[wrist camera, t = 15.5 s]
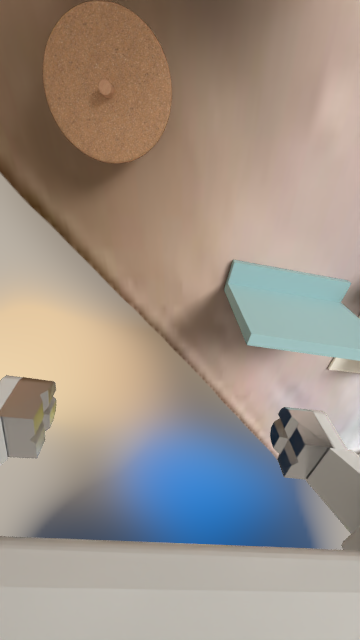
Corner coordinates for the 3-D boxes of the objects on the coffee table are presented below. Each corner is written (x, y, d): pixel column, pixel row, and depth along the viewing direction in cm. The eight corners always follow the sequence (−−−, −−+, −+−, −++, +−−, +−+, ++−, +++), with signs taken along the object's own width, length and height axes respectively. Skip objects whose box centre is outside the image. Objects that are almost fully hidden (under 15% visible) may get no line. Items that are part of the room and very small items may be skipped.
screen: (233, 259, 40) (261, 306, 28) (347, 280, 42) (419, 331, 30) (223, 289, 42) (246, 345, 30) (332, 307, 45) (394, 365, 33)
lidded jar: (189, 83, 30) (198, 58, 22) (142, 180, 34) (134, 189, 26) (93, 5, 26) (61, -58, 18) (55, 123, 31) (16, 114, 23)
